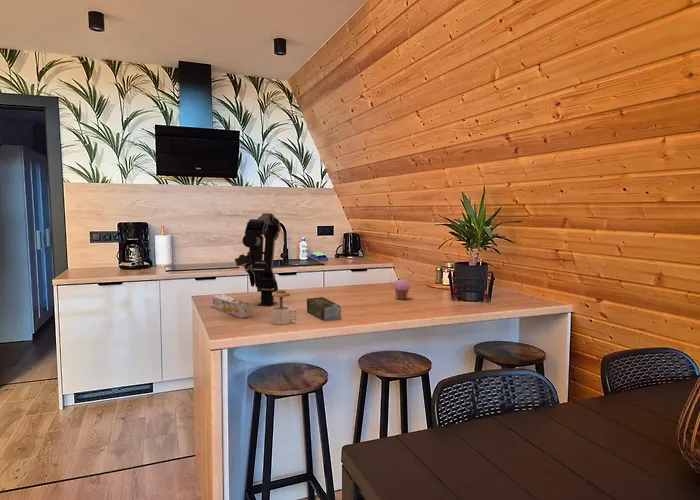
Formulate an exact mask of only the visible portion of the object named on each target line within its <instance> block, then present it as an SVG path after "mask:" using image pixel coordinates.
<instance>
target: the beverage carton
mask: <svg viewBox="0 0 700 500" xmlns="http://www.w3.org/2000/svg"><path fill="white" fill-rule="evenodd" d="M306 311H307V313H309V314H311V315H313V316H314V317H316V318H318V319H320V320H321V319H322V320H321V321H323V320H324V321H323V322H330V320H332V321H338V320H337V319H341V320H342V306H341V305H339V304H338V303H335V302H333V301H331V300H330V299H328V298H326V297H324V296H320V297H309V298H306Z"/></svg>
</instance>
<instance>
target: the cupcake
mask: <svg viewBox="0 0 700 500" xmlns="http://www.w3.org/2000/svg"><path fill="white" fill-rule="evenodd" d="M392 288H393V289H394V291H395V297H396V299H398V300H404V299H405V300H407V298H408V294H409V290H410V289H411V284H410V282H409V281H408V280H406V279H403V278H402V279H397V280H395V281H394V282H393V286H392Z"/></svg>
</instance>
